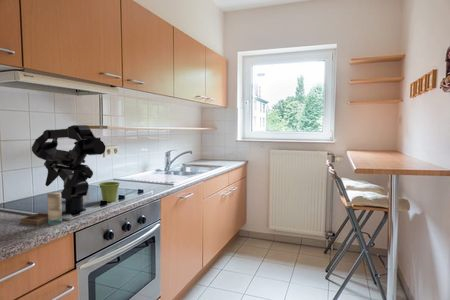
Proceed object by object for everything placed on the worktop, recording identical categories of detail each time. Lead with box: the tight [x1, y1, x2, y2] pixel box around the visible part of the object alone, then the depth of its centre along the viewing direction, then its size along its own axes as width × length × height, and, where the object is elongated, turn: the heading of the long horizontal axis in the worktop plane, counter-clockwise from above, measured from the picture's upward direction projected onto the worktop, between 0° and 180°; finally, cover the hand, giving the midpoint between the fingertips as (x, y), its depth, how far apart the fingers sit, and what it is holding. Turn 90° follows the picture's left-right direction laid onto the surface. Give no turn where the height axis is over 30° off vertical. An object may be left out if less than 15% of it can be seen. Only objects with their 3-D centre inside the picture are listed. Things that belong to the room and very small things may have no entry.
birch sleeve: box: [46, 192, 63, 226], centre depth 108 cm, size 4×4×11 cm
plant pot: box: [98, 181, 120, 203], centre depth 142 cm, size 9×9×9 cm
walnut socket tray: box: [19, 212, 48, 227], centre depth 110 cm, size 8×8×2 cm
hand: (56, 187), depth 109 cm, fingers open, 9 cm apart
